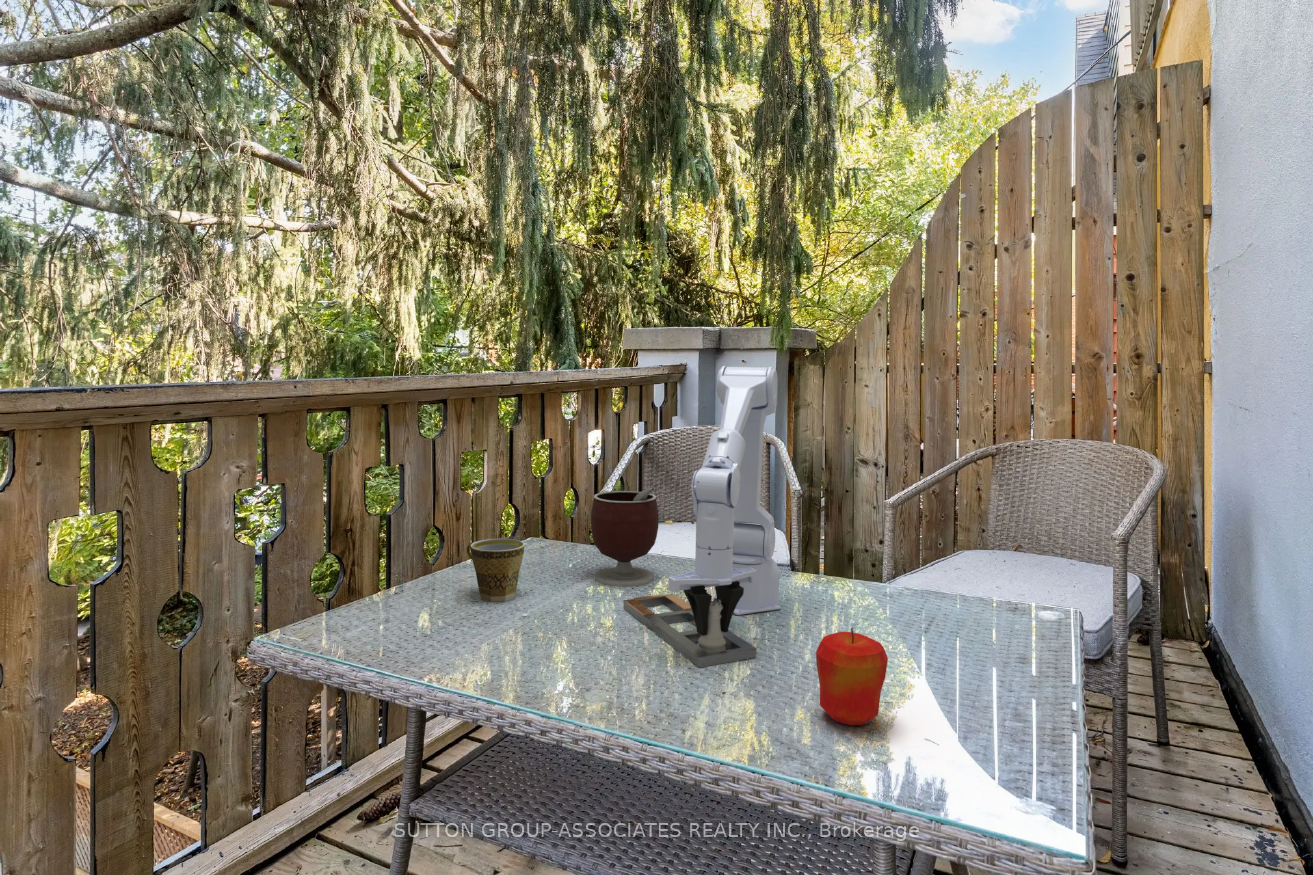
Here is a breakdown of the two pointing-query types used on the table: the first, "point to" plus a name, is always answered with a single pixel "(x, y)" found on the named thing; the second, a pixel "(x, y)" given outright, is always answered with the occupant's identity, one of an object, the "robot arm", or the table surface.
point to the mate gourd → (624, 534)
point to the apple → (850, 676)
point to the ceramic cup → (497, 567)
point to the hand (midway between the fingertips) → (712, 631)
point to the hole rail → (686, 639)
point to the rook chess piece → (713, 630)
